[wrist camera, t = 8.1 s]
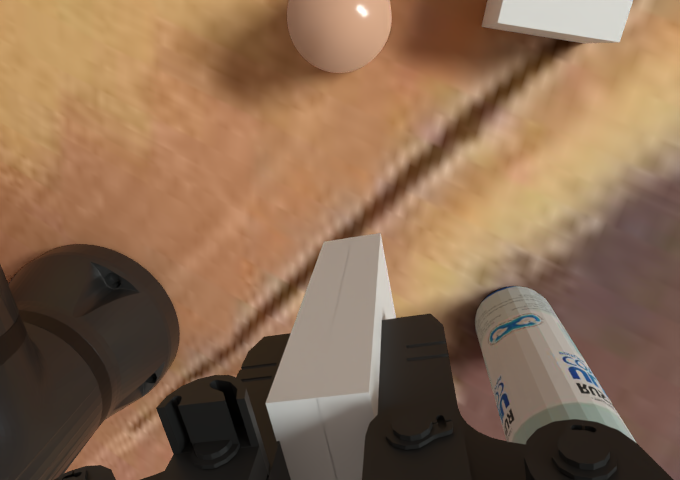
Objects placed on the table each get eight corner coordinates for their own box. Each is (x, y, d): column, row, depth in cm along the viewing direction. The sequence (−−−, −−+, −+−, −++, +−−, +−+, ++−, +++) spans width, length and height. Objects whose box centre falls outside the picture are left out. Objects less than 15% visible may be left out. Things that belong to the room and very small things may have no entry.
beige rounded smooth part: (319, 76, 37) (303, 84, 31) (295, -12, 35) (273, -24, 29) (400, 54, 36) (401, 57, 30) (381, -38, 34) (377, -56, 28)
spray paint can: (458, 304, 42) (510, 505, 24) (533, 270, 41) (651, 456, 22) (493, 364, 44) (566, 595, 25) (566, 333, 42) (702, 556, 24)
